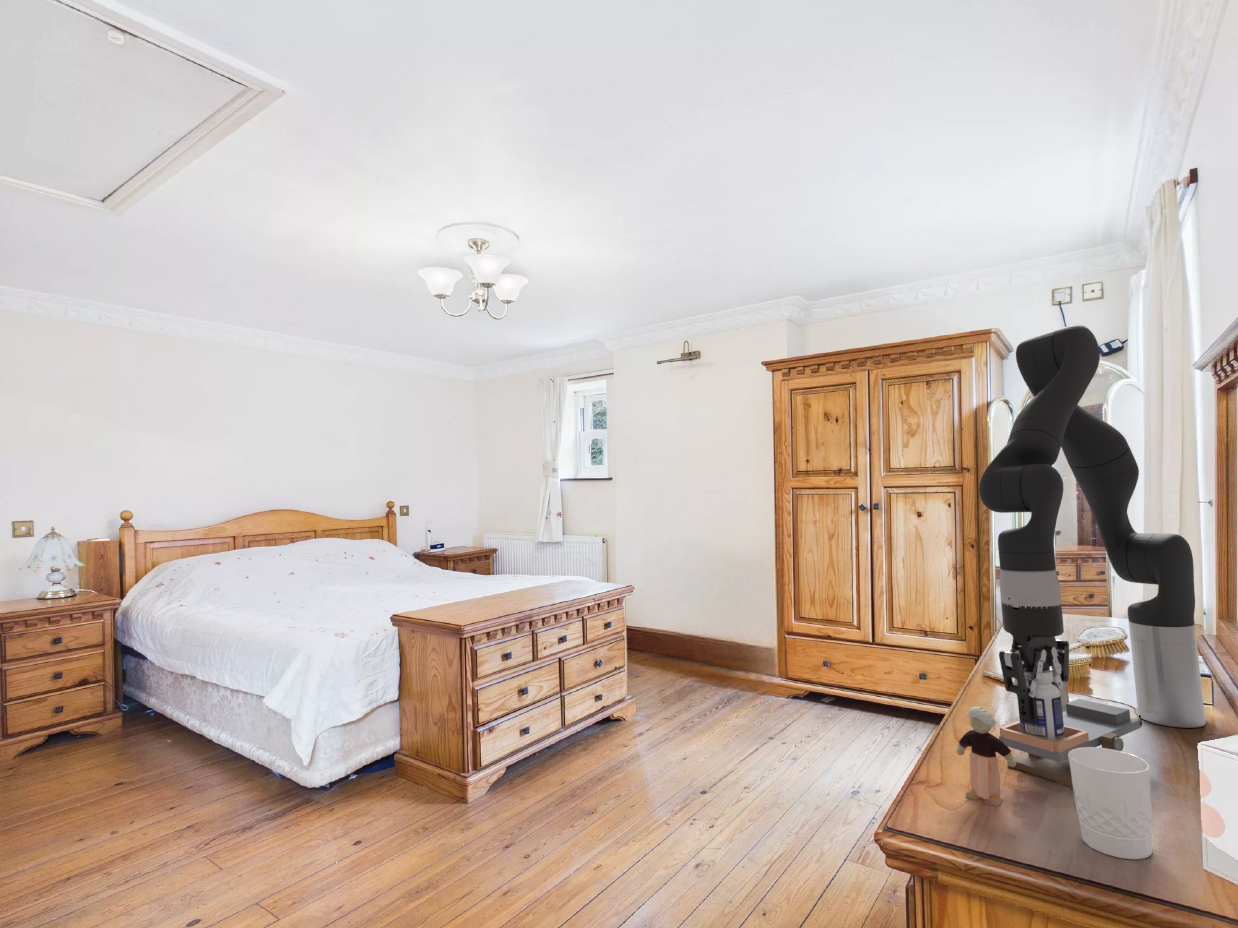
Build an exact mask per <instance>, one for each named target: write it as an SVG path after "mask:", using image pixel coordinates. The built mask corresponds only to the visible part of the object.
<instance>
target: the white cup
mask: <svg viewBox="0 0 1238 928" xmlns="http://www.w3.org/2000/svg"><path fill="white" fill-rule="evenodd" d="M1068 758H1069V765H1070V771H1071V778H1072V784H1073V787H1072V790H1073V798H1074V803H1075V807H1076V815H1077V817H1078V821H1079V825H1080V833H1081V838H1082V839H1081V840H1082V841H1083V842H1084V844H1086V845H1087V846H1089V847H1090V848H1091V849H1093V850H1094V851H1097V852H1099V853H1102V854H1104V855H1107V856H1112V857H1115V858H1119V859H1126V860H1143V859H1147V858H1149V857H1150V856H1151V855H1152V854H1153V840H1152V828H1153V815H1152V814H1153V808H1152V807H1153V805H1152V804H1153V803H1152V785H1151V784H1152V783H1151V782H1152V781H1151V766H1150V764H1149V762H1147V761H1146V760H1145V759H1143V758H1141V757H1140V756H1137V755H1134V754H1132V753H1129V752H1125V751H1123V750H1122V751H1118V750H1113V749H1107V748H1102V747H1082V748H1076V749H1072V750H1070V751H1069V752H1068Z"/></svg>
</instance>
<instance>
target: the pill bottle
mask: <svg viewBox="0 0 1238 928" xmlns="http://www.w3.org/2000/svg"><path fill="white" fill-rule="evenodd" d="M1024 673H1029V674H1031V673H1033V672H1029V671H1024ZM1025 680H1026V685H1027V687H1028V682H1029V680H1028V679H1025ZM1051 682H1053V674H1052V671H1051V670H1047V671H1046V670H1043V671H1042V676H1041V680H1040V681H1039V682H1037V685H1036V692H1035V696H1034V697H1036V704H1037V715H1038V722H1037V723H1034V724H1032V723H1028V722H1024V721H1022V720H1021V719H1020V717H1019V716H1018V718H1019V720H1020V729H1021V733H1024V734H1027V735H1031V736H1034V737H1038V738H1042V739H1045V740H1049V741H1052V742H1057V741H1060V740H1062V739H1065V733H1064V723H1063V714H1062V704H1061V696H1060V691H1059V689H1058V688H1057V687H1056V686H1055V685H1053V684H1052V683H1051ZM1016 697H1017V696H1016ZM1016 699H1018V697H1017V698H1016ZM1017 708H1018V709H1019V707H1017Z"/></svg>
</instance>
